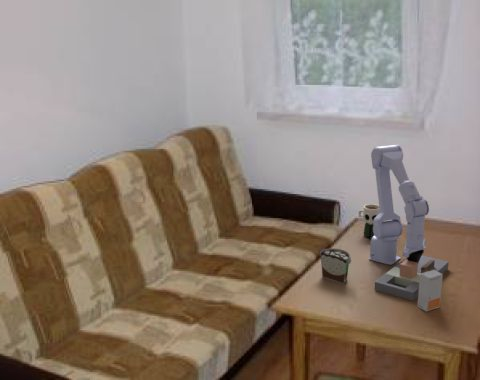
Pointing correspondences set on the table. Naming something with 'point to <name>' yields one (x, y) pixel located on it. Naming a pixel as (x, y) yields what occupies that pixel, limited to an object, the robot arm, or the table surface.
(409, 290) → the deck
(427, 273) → the skincare box
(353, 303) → the table surface
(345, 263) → the food container
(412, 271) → the terracotta block
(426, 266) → the tunnel walls
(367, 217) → the character mug
